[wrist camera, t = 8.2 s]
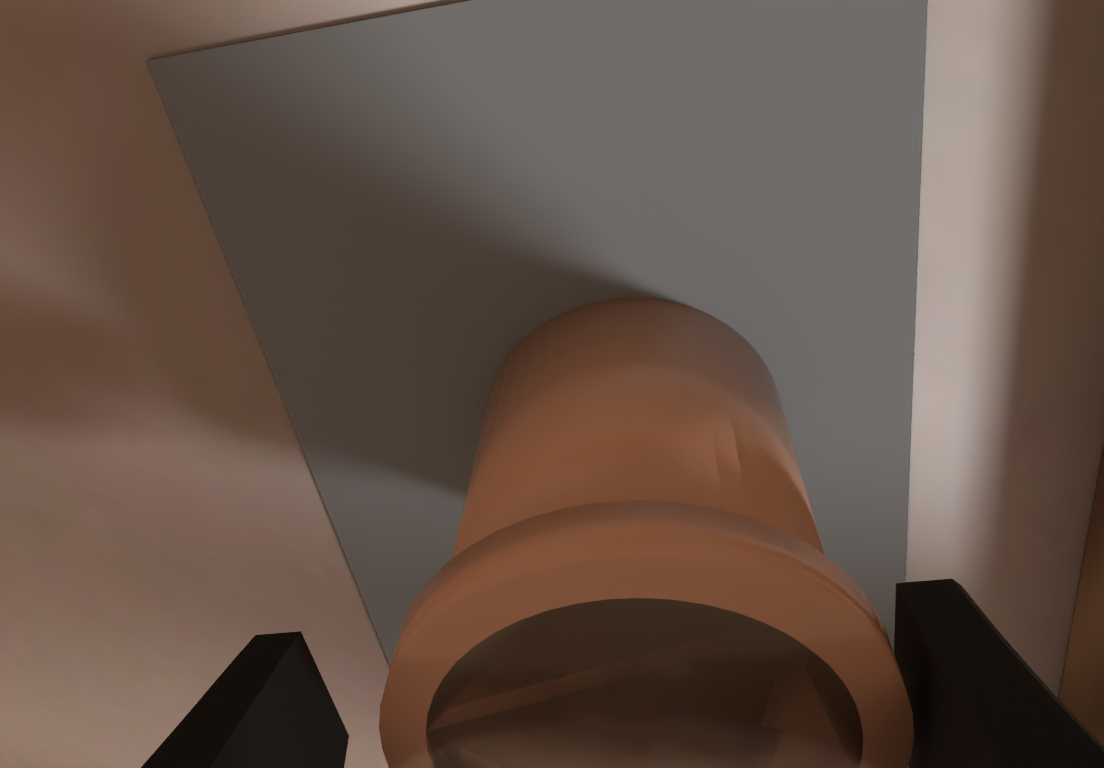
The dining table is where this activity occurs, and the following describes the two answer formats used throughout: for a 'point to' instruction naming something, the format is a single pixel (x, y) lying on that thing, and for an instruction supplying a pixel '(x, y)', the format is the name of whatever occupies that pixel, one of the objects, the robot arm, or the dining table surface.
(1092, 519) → the cold frame
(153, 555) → the dining table surface
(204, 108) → the potting mat
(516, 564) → the terracotta pot
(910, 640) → the robot arm
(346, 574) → the dining table surface
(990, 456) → the dining table surface
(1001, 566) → the dining table surface
